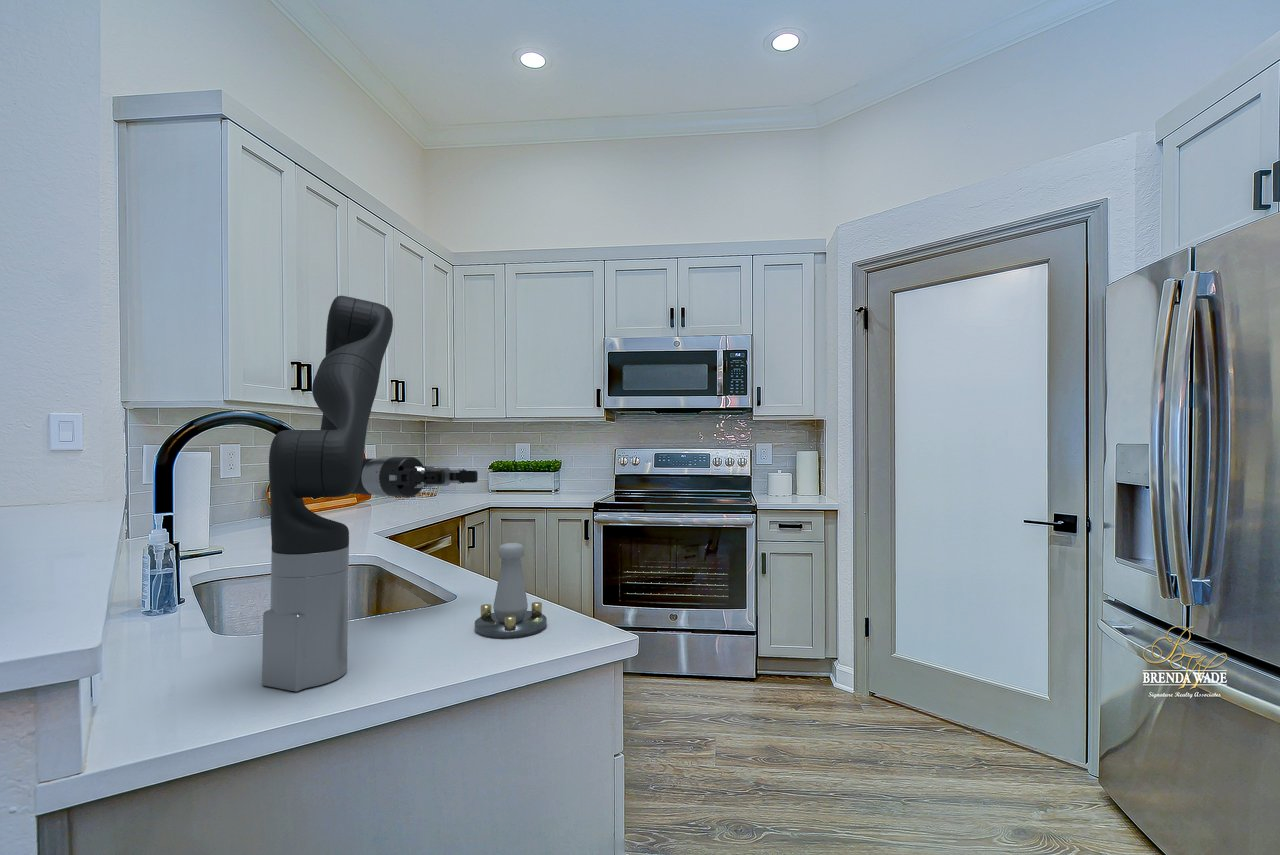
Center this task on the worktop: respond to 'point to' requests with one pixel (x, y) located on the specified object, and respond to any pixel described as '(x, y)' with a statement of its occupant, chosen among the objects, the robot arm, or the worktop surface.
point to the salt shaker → (510, 584)
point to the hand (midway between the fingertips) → (460, 477)
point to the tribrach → (510, 623)
